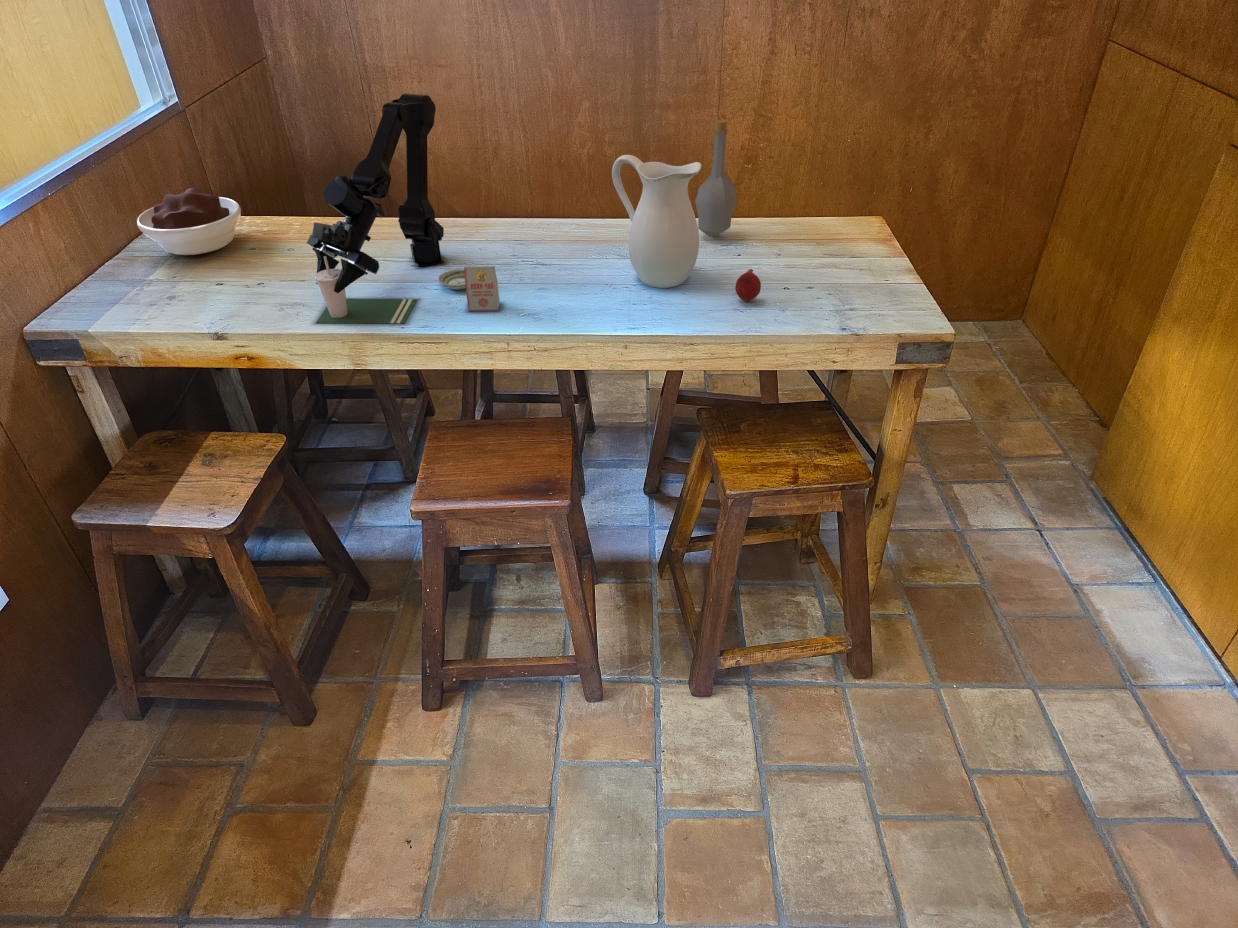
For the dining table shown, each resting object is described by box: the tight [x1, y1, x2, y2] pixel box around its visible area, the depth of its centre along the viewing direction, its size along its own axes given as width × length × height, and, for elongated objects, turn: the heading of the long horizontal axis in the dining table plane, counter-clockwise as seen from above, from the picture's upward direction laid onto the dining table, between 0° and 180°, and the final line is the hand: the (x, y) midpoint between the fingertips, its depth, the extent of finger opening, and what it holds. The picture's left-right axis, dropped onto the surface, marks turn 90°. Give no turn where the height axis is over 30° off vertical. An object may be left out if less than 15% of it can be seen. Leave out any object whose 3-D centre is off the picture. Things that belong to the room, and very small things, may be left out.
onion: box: [734, 268, 762, 303], centre depth 180 cm, size 6×6×8 cm
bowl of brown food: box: [136, 187, 242, 256], centre depth 206 cm, size 25×25×15 cm
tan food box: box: [463, 265, 501, 313], centre depth 178 cm, size 4×7×10 cm, turn 91°
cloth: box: [315, 298, 418, 325], centre depth 180 cm, size 20×12×1 cm, turn 88°
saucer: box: [437, 268, 466, 291], centre depth 190 cm, size 10×10×2 cm
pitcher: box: [611, 154, 702, 289], centre depth 186 cm, size 24×17×28 cm
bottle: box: [694, 119, 738, 238], centre depth 204 cm, size 11×11×30 cm
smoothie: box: [314, 256, 347, 318], centre depth 175 cm, size 6×6×14 cm
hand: (326, 288), depth 174 cm, fingers closed on smoothie, 6 cm apart
